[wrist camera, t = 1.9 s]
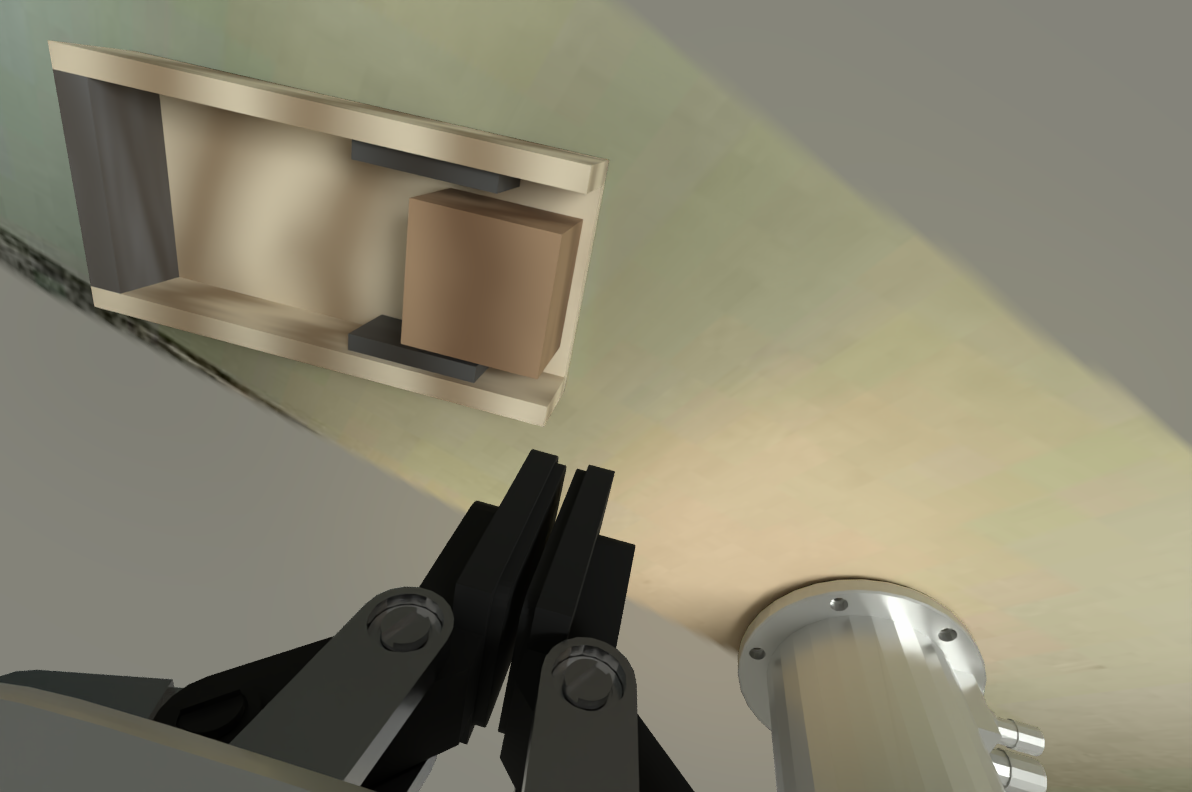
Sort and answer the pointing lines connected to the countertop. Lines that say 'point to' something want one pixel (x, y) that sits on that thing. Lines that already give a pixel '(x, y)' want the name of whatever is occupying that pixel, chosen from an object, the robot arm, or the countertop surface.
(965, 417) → the countertop surface
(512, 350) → the block
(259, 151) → the chute
